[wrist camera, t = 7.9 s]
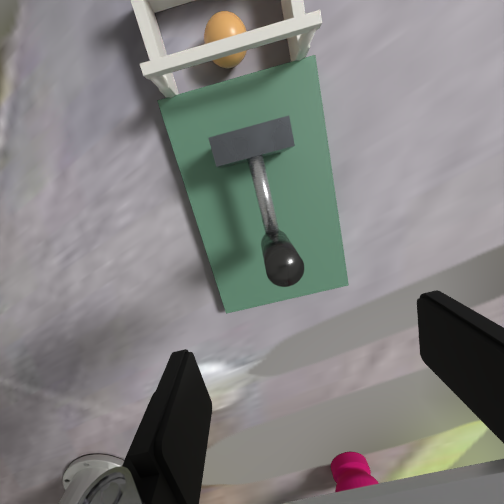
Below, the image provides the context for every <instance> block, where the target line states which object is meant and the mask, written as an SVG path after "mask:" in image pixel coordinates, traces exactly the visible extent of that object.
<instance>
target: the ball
mask: <svg viewBox="0 0 504 504" xmlns="http://www.w3.org/2000/svg"><path fill="white" fill-rule="evenodd" d="M244 32H246V29H245V26H244V24H243V22H242V21H241V20H240V18H239V17H238V16H236V15H235V14H233V13H231V12H228V11H221V12H218V13H216V14H214V15H213V16H212V17H211V18H210V20H209V21H208V23H207V25H206V28H205V34H204V42H205V44H207V43H211V42H214V41H217V40H221V39H224V38H227V37H231V36H234V35H237V34H241V33H244ZM246 51H247V50H246ZM246 51H243V52H239V53H236V54H232V55H229V56H226V57H222V58H219V59H215V60H212V61H213V62H214V63H215V64H217V65H218V66H220V67H223V68H233V67H235V66H237V65H238V64H239V63H240V62H241V61H242V60H243V58H244V57H245V54H246Z"/></svg>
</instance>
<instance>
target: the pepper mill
mask: <svg viewBox="0 0 504 504" xmlns="http://www.w3.org/2000/svg"><path fill="white" fill-rule="evenodd" d="M331 471H332V474H333V478H334V480H335V482H336V483H337V485H336V490H335V492H340V491H345V490H350V489H355V488H359V487H364V486H369V485H374V484H379V483H378V482H377V480H376V479H375V478H374V477H372V476H371V475H370V473H371V471H370V468H369V466H368V463H367V461H366V459H365V457H364V456H363V455H361V454H359V453H356V452H345V453H342V454H339V455H338V456H336V457H335V458H334V459H333V461H332V463H331Z"/></svg>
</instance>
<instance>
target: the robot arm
mask: <svg viewBox="0 0 504 504" xmlns="http://www.w3.org/2000/svg"><path fill="white" fill-rule="evenodd" d="M417 313H418V328H419V344H420V355H421V358H422V360H423V361H424V362H425V364H426V365H427V366H428V367H429V368H430V369H431V370H432V371H433V372H434V373H435V374H436V375H437V376H438V377H439V378H440V379H441V380H442V381H443V382H444V383H445V384H446V385H447V386H448V387H449V388H450V389H451V390H452V391H453V392H454V393H455V394H456V395H457V396H458V397H459V398H460V399H461V400H462V401H463V402H464V403H465V404H466V405H467V406H468V407H469V408H470V409H471V410H472V412H473V413H474V414H476V416H477V417H478V418H479V419H480V420H481V421H482V422H483V423H484V424H485V425H486V426H487V427H488V428H489V429H490V430H491V431H492V432H493V433H494V434H495V435H496V436H497V437H498V438H499V439H500V440H501V441H502V442H503V443H504V328H503V327H502V326H500V325H498V324H496V323H495V322H493V321H491V320H489V319H488V318H486V317H484V316H482V315H481V314H479V313H477V312H475V311H474V310H472V309H470V308H468V307H467V306H464V305H463V304H461V303H459V302H458V301H456V300H454V299H453V298H451V297H449V296H447V295H446V294H444V293H442V292H440V291H432V292H428V293H424V294H421V296H420V298H419V299H418V300H417ZM211 414H212V402H211V399H210V396H209V394H208V391H207V388H206V386H205V383H204V381H203V378H202V375H201V373H200V370H199V367H198V365H197V362H196V360H195V357H194V355H193V353H192V352H188V350H186V349H185V350H181V351H177V352H173V353H172V354H171V356H170V359H169V361H168V363H167V366H166V368H165V371H164V373H163V375H162V378H161V380H160V382H159V385H158V387H157V390H156V392H155V393H154V394H153V395H152V397H151V400H150V402H149V404H148V407H147V409H146V411H145V414H144V416H143V418H142V421H141V423H140V425H139V428H138V430H137V432H136V435H135V437H134V439H133V442H132V444H131V446H130V449H129V451H128V453H127V456H126V458H125V460H124V461H123V460H122V459H119V458H116V457H113V456H109V455H102V454H93V455H87V456H84V457H81V458H79V459H77V460H75V461H74V462H72V463H71V464H70V466H69V467H68V468H67V470H66V472H65V474H64V476H63V486H64V489H65V492H64V494H63V496H62V498H61V499H60V501H59V503H58V504H199V499H200V492H201V485H202V478H203V471H204V463H205V456H206V449H207V442H208V435H209V428H210V421H211ZM282 504H504V459H501V460H495V461H490V462H485V463H480V464H475V465H470V466H464V467H460V468H454V469H449V470H444V471H439V472H434V473H429V474H424V475H419V476H414V477H409V478H404V479H399V480H394V481H389V482H384V483H379V484H374V485H369V486H364V487H359V488H355V489H350V490H345V491H340V492H335V493H330V494H325V495H320V496H315V497H311V498H306V499H301V500H296V501H292V502H287V503H282Z"/></svg>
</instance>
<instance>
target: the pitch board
mask: <svg viewBox="0 0 504 504" xmlns="http://www.w3.org/2000/svg"><path fill="white" fill-rule="evenodd" d="M157 101H158V104H159V107H160V111H161V114H162V117H163V120H164V123H165V126H166V129H167V132H168V135H169V138H170V141H171V144H172V148H173V151H174V154H175V157H176V160H177V163H178V166H179V169H180V172H181V175H182V178H183V182H184V185H185V188H186V191H187V194H188V197H189V200H190V203H191V206H192V209H193V212H194V216H195V219H196V222H197V225H198V228H199V231H200V234H201V237H202V240H203V243H204V246H205V250H206V253H207V256H208V259H209V262H210V265H211V268H212V271H213V274H214V277H215V280H216V283H217V287H218V290H219V293H220V296H221V299H222V302H223V305H224V308H225V311H226V313H231V312H235V311H239V310H244V309H248V308H252V307H257V306H261V305H265V304H270V303H274V302H278V301H283V300H287V299H291V298H296V297H300V296H304V295H309V294H313V293H317V292H322V291H326V290H330V289H335V288H339V287H343V286H348V285H349V284H348V277H347V271H346V264H345V257H344V250H343V243H342V236H341V229H340V222H339V215H338V209H337V202H336V195H335V188H334V181H333V174H332V167H331V160H330V153H329V147H328V140H327V133H326V126H325V119H324V112H323V105H322V98H321V91H320V84H319V78H318V71H317V64H316V57H315V55H313V56H310V57H306V58H303V59H302V60H300V61H298V60H296V61H292V62H289V63H285V64H282V65H278V66H275V67H272V68H268V69H265V70H261V71H258V72H254V73H251V74H247V75H244V76H240V77H237V78H233V79H230V80H227V81H223V82H220V83H216V84H213V85H209V86H206V87H202V88H199V89H195V90H192V91H189V92H185V93H182V94H178V95H175V96H174V97H172V98H169V97H168V98H164V99H161V100H157ZM288 115H289V117H290V122H291V128H292V133H293V138H294V144H295V146H294V147H292V148H290V149H289V150H287V151H284V152H281V153H277V154H273V155H270V156H266V157H263V159H264V164H265V168H266V173H267V177H268V182H269V186H270V191H271V195H272V200H273V204H274V209H275V213H276V218H277V222H278V227H279V230H280V231H282V232H284V233H285V234H286V235H287V237H288V238H289V240H290V241H291V243H292V245H293V246H294V248H295V249H296V251H297V252H298V254H299V255H300V257H301V259H302V260H303V262H304V274H303V276H302V278H301V279H300V280H299V281H298V282H297V283H296V284H294V285H292V286H289V287H280V286H277V285H275V284H273V283H272V282H271V281H270V280H269V279H268V277H267V274H266V269H265V264H264V258H263V253H262V248H261V240H262V238H263V236H264V235H265V230H264V226H263V222H262V218H261V213H260V209H259V205H258V201H257V197H256V193H255V189H254V184H253V180H252V176H251V172H250V168H249V164H248V161H247V162H243V163H240V164H236V165H232V166H228V167H225V168H219V167H216V164H215V160H214V157H213V153H212V150H211V146H210V142H209V139H208V138H209V137H212V136H216V135H220V134H223V133H227V132H231V131H234V130H238V129H241V128H245V127H249V126H252V125H256V124H260V123H263V122H267V121H270V120H274V119H278V118H281V117H285V116H288Z"/></svg>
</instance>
